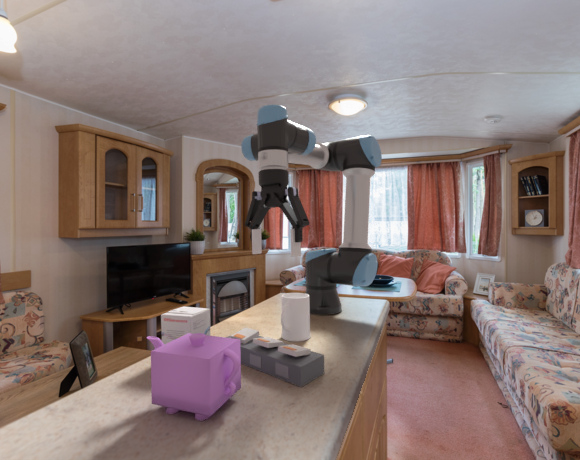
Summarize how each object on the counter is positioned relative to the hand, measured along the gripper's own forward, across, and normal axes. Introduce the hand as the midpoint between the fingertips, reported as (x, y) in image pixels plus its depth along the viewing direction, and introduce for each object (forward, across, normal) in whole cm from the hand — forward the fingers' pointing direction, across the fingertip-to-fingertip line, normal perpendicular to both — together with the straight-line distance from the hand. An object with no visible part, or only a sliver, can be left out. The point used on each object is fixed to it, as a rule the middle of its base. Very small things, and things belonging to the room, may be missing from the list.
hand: (275, 255), depth 83 cm
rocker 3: (+20, +11, -6) cm, 23 cm away
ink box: (+25, -15, -16) cm, 33 cm away
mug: (+25, -4, +11) cm, 28 cm away
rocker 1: (+20, -5, -6) cm, 21 cm away
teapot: (+25, +4, -27) cm, 37 cm away
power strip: (+25, 0, -6) cm, 25 cm away
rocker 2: (+20, +3, -6) cm, 21 cm away
